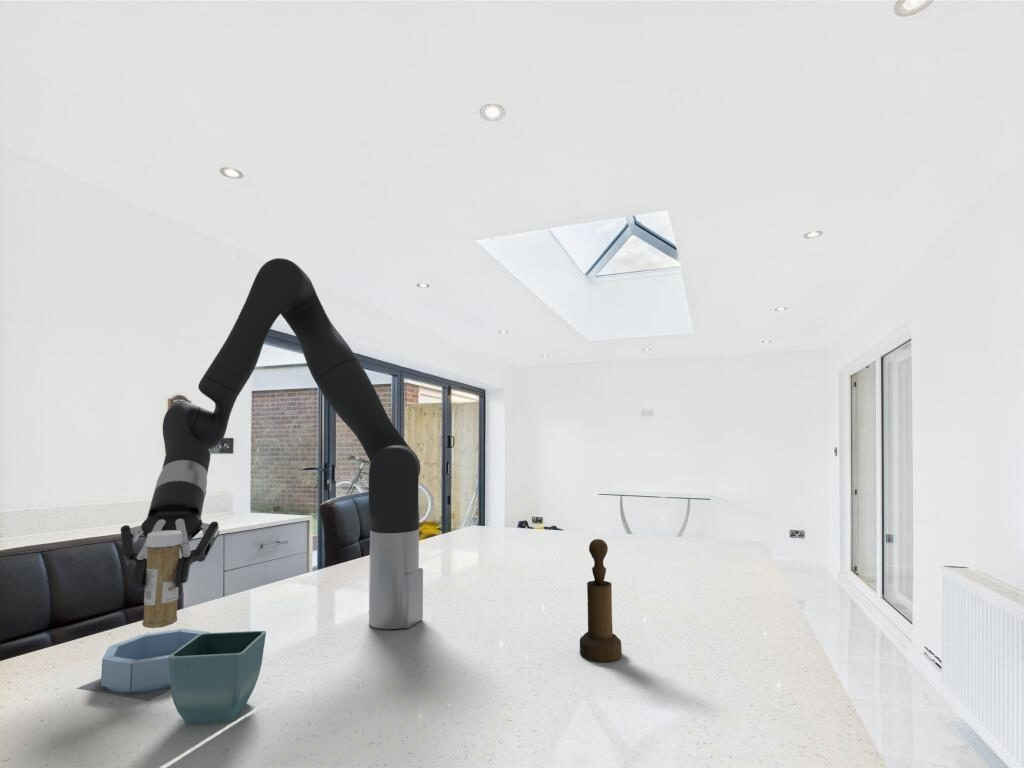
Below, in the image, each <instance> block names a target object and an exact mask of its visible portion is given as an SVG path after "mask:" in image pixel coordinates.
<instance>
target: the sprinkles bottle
mask: <svg viewBox="0 0 1024 768" xmlns="http://www.w3.org/2000/svg"><path fill="white" fill-rule="evenodd" d="M146 539H147V542H146V546H147V550H148V552H147V566H146V574H145V585H144V591H143V593H144V595H143V598H144V599H143V604H144V605H143V606H144V608H143V609H144V610H143V621H142V622H141V625H142V626H143V628H148V629H157V628H165V627H167V626H170V625H173V624H174V623H176V622H177V621H178V599H179V587H176V584H175V577H176V572H177V567H178V562H179V558H181V557H180V555H181V550H180V546H181V545H180V544H181V543H182V532H181V531H178V530H166V531H156V532H151V533H149V534H148V535H147V538H146Z"/></svg>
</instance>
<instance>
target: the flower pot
mask: <svg viewBox="0 0 1024 768" xmlns="http://www.w3.org/2000/svg"><path fill="white" fill-rule="evenodd" d="M266 635H267V631H266V630H251V631H250V630H249V631H248V630H247V631H225V632H210V633H202V634H199V635H197V636H196V637H194V638H193V639H192V640H190V641H189V642H188V643H186V644H185V645H183V646H182V647H181V648H179V649H178V650H176V651H175V652H173V653H172V654H171V655H170V656H169V657H168V661H169V672H170V683H171V690H170V691H171V697H172V702H173V704H174V707H175V709H176V711H177V713H178V714H179V716H180V717H181V718H182V719H183V722H185V723H186V724H187V725H189V726H190V725H205V724H206V725H207V724H227V723H231V722H232V721H234V720H235V718H236V717H237V715H238V714H239V713H240V712H241V711H242V710H243V709H244V707H246V705H247V703H248V701H249V699H250V697H251V696H252V694H253V692H254V689H255V688H256V685H257V682H258V678H259V676H260V673H261V667H262V664H263V663H262V662H263V657H264V651H265V644H266V643H265V642H266Z"/></svg>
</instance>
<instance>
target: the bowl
mask: <svg viewBox="0 0 1024 768" xmlns="http://www.w3.org/2000/svg"><path fill="white" fill-rule="evenodd" d="M202 633H211V632H210V631H206V630H205V631H204V630H196V629H187V628H179V629H173V630H171V629H170V630H164V631H157V632H156V631H155V632H152V633H150V632H149V633H144V634H140V635H138V636H135V637H131V638H129V639H126V640H123V641H120V642H117V643H115V644H112V645H109V646H108V647H107V650H106V651H105V653H104V655H103V657H102V659H101V676H100V677H101V678H100V679H101V686H104V687H105V688H106V689H107V690H109V691H112V692H116V693H142V692H150V691H155V690H161V689H165V688H169V687H171V683H170V672H169V661H168V657H169V656H170V655H171V654H172V653H173V652H175V651H176V650H178V649H179V648H181V647H182V646H183V645H185V644H186V643H188V642H189V641H190V640H192V639H193V638H194V637H196V636H197V635H199V634H202Z"/></svg>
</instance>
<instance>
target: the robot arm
mask: <svg viewBox="0 0 1024 768" xmlns="http://www.w3.org/2000/svg"><path fill="white" fill-rule="evenodd" d="M319 298H320V297H319V296H318V294H317V291H316V289H315V287H314V284H313V282H312V280H311V279H310V277H309V276H308V275H307V273H306V272H305V271H304V270H303V269H302V268H301V267H300V266H299V265H298V264H297V263H295V262H294V261H292V260H290V259H288V258H283V257H276V258H272V259H270V260H268V261H266V262H265V263H263V265H262V266H261V267H260V269H259V270H258V272H257V273H256V275H255V277H254V280H253V283H252V284H251V288H250V290H249V291H248V294H247V297H246V300H245V302H244V304H243V306H242V308H241V310H240V313H238V316H237V318H236V321H235V323H234V325H233V326H232V328H231V330H230V333H229V334H228V336H227V338H226V340H225V341H224V343H223V344H222V347H221V348H220V350H219V351H218V352H217V354H216V356H215V357H214V359H213V361H211V364H210V365H209V367H208V368H207V370H206V371H205V373H204V375H203V376H202V378H201V379H200V380H199V383H198V390H199V391H200V393H201V394H203V395H204V396H205V397H207V398H208V399H210V400H211V401H212V402H214V406H215V407H214V410H213V411H210V410H208V409H206V408H204V407H201V406H199V405H197V404H195V403H192V402H189V401H179V402H176V403H175V404H173V405H171V406H170V407H169V409H168V410H167V411H166V412H165V415H164V417H163V421H162V437H163V442H164V450H165V451H164V452H165V457H164V460H163V464H162V468H161V471H160V473H159V476H158V478H157V480H156V483H155V487H154V491H153V495H152V497H151V498H152V499H151V502H150V506H149V509H148V513H147V516H146V517H147V518H146V519H145V520H144V521H143V522H142V523H141V525H138V526H133V527H131V526H130V525H128V524H127V525H126V524H125V525H123V526H122V527H120V535H121V536H120V537H121V542H122V552H123V556H124V560H125V564H126V566H127V567H132V566H134V570H133V573H132V578H131V579H132V583H133V587H134V588H135V587H136V590H137V591H144V590H145V574H146V566H147V552H148V550H147V546H146V542H147V535H148V534H149V533H151V532H156V531H166V530H178V531H181V532H182V543H181V544H180V545H181V546H180V555H181V557H180V558H179V562H178V567H177V572H176V577H175V584H176V587H178V588H182V587H183V584H186V583H187V582H188V580H189V576H190V571H191V570H190V569H191V565H192V564H193V563H195V562H200V563H201V562H204V561H205V560H206V558H207V556H208V555H209V553H210V551H211V549H212V547H213V546H214V544H215V541H216V540H217V538H218V537H219V534H220V529H219V522H218V521H212V522H210V523H206V522H203V520H202V514H203V510H204V509H203V507H204V502H205V498H206V496H207V486H208V473H209V467H210V462H211V452H210V450H212V449H214V448H215V447H217V446H218V445H220V443H221V442H222V441H223V439H224V437H225V435H226V432H227V429H228V425H229V420H230V417H231V414H232V411H233V409H234V405H235V403H236V401H237V399H238V397H239V395H240V393H241V392H242V390H243V388H245V385H246V384H247V382H248V381H249V379H250V378H251V376H252V374H253V372H254V370H255V368H256V366H257V364H258V362H259V358H260V356H261V353H262V349H263V346H264V343H265V341H266V338H267V336H268V334H269V332H270V330H271V328H272V327H273V325H274V323H275V322H276V320H277V319H278V317H280V315H281V317H282V318H283V319H284V321H286V323H287V324H288V326H289V327H290V329H291V331H292V332H293V334H294V335H295V336H296V338H297V340H298V342H299V345H300V348H301V350H302V353H303V356H304V359H305V362H306V364H307V367H308V370H309V372H310V375H311V376H312V378H313V381H314V382H315V384H316V385H317V388H318V389H319V390H320V392H321V394H322V396H323V397H324V398H325V400H326V401H327V403H328V404H329V406H330V407H331V408H332V410H333V411H334V412H335V413H336V414H337V416H338V417H339V418H340V419H341V420H342V421H343V422H344V424H345V425H346V426H347V427H348V428H349V429H350V430H351V432H352V433H353V434H354V435H355V436H356V438H357V440H358V441H359V443H360V445H361V447H362V448H363V450H364V452H365V454H366V456H367V458H368V460H369V469H368V516H369V522H370V523H369V524H370V526H369V528H370V532H369V581H368V582H369V584H368V590H369V591H368V592H369V593H368V624H369V626H370V627H372V628H375V629H381V630H394V629H395V630H396V629H397V630H398V629H409V628H411V627H413V626H414V625H416V624H417V623H418V622H420V621H421V620H423V619H424V617H423V616H424V612H423V611H424V609H423V608H424V607H423V606H424V605H423V604H424V569H423V568H422V567H420V561H419V560H420V512H419V510H420V506H419V480H420V479H419V478H420V474H421V464H420V460H419V457H418V455H417V454H416V452H415V451H414V450H413V449H412V448H411V446H409V443H407V442H406V441H405V440H406V439H404V438H403V436H402V435H401V434H400V432H399V431H398V430H397V428H396V427H395V425H394V424H393V422H392V421H391V419H390V418H389V416H388V414H387V412H386V410H385V408H384V405H383V403H382V401H381V398H380V396H379V395H378V393H377V391H376V389H375V387H374V384H373V383H372V381H371V380H370V378H369V376H368V374H367V373H366V371H365V369H364V367H363V365H362V364H361V362H360V361H359V359H358V357H357V356H356V355H355V353H354V351H353V350H352V348H351V347H350V345H349V344H348V343H347V342H346V340H345V339H344V337H343V336H342V334H341V333H340V332H339V331H338V330H337V328H336V327H335V326H334V324H333V323H332V322H331V320H330V318H329V317H328V315H327V313H326V311H325V309H324V306H323V304H322V302H321V300H320V299H319ZM200 532H201V534H202V537H201V538H200V540H199V541H200V542H199V543H198V545H197V546H196V548H195V549H192V550H191V548H190V541H191V540H193V538H195V537H196V536H197V535H198V534H199V533H200ZM141 535H143V536H144V537H145V538H146V539H145V541H144V543H143V545H142V548H141V550H140V551H139V552H135V547H134V543H137V541H138V540H139V537H140V536H141Z"/></svg>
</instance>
